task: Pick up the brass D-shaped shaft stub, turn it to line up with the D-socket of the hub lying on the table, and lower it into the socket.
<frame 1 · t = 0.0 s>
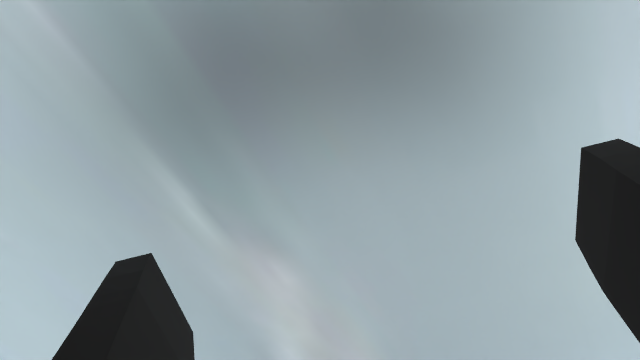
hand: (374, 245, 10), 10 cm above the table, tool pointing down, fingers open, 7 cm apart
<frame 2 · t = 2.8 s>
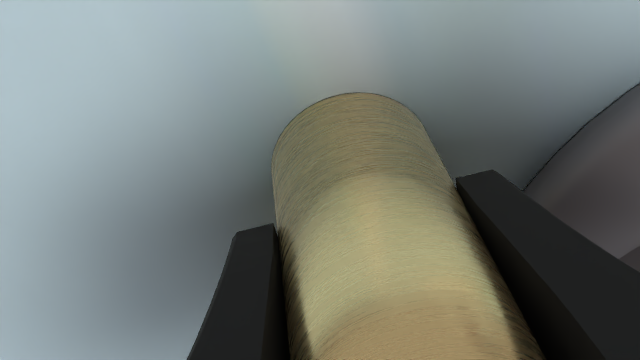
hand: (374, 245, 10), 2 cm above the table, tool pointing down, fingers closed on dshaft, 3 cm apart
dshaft: (356, 186, 11), on the table, touching gripper
when the fingers open (4 cm above the table, at t = 6.3 s): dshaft stays where it is, resting on hub.
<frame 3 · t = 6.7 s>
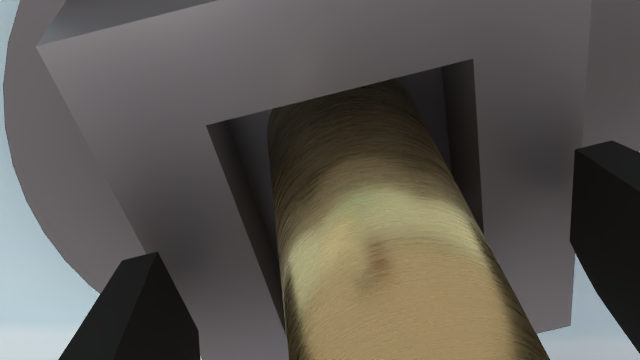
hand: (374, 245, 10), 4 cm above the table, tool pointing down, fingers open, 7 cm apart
hub: (340, 132, 13), on the table
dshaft: (346, 153, 12), point 1 cm above the table, touching hub
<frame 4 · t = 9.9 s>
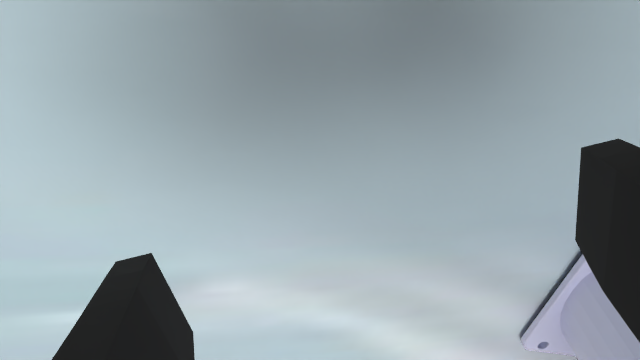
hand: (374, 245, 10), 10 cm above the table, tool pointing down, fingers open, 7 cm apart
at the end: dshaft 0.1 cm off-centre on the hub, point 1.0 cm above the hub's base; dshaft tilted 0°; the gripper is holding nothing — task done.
